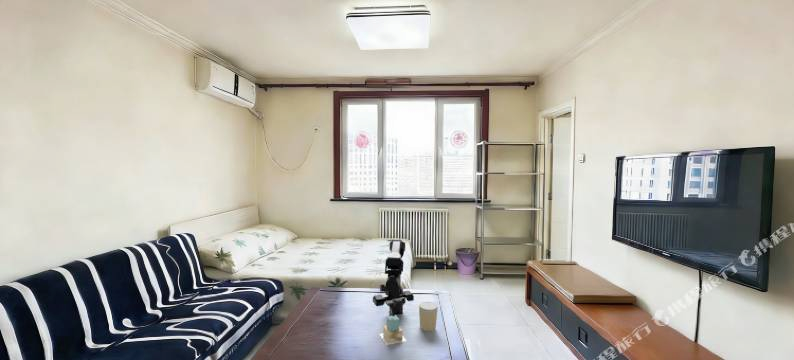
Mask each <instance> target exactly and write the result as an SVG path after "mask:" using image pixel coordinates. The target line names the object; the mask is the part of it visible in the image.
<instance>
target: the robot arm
mask: <svg viewBox="0 0 794 360" xmlns="http://www.w3.org/2000/svg"><path fill="white" fill-rule="evenodd" d="M388 247H389V251H390V253H389V254H388V255H387V258H385V263H384V265H385V267H384V274H385V275H387V278H386V280H385V284H380V285H379V291H380V292H381V293H382V292H383V293H384V294H385V296H382V294H376V295H373V296H372V303H373V304H374V306H376V307H381V306H382V307H383V306H384V305H385V304H386V305H387V307H389V311H388V312H389V314H390V316H395V315H396V316H398V315H404V310H403V309H404V305H405V304H406V303H407V302H413V301H414V300H415V296H414V294H413V293H412V292H411V291H410V290H404V288H403V287H402V284H401V278H402V273H403V272H404V265H405V264H404V260H403V259H402V258H403V256H404V254H405V252H406V242H404V241H402V239H394V238H393V239H391V241H390V242H389V246H388ZM406 301H407V302H406Z"/></svg>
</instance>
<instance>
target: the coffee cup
mask: <svg viewBox="0 0 794 360" xmlns="http://www.w3.org/2000/svg"><path fill="white" fill-rule="evenodd" d="M438 308H439V307H438V305H437V304H436V303H435V302H432V301H423V302H420V303H419V306H418V309H419V312H418V314H419V328H420V329H421V330H422V331H424V332H425V331H426V332H431V333H435V331H436V328H437V327H436V326H437V319H438V317H437V316H438V315H437V314H438Z"/></svg>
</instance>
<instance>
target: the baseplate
mask: <svg viewBox="0 0 794 360" xmlns="http://www.w3.org/2000/svg"><path fill="white" fill-rule="evenodd" d="M379 336H380V337H381V339H382V341H383V342H384V344H385V346H389V345H396V344H399V343H400V344H401V343H404V342H407V339H406V338H405V336H403V339H402V340H400V341H395V342H390V343H388V342H387V340H386V338H385V337H384V335H383V332H382V333H379Z"/></svg>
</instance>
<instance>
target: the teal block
mask: <svg viewBox="0 0 794 360" xmlns="http://www.w3.org/2000/svg"><path fill="white" fill-rule="evenodd" d="M386 325H387V328H388V329H389V331H395V330H399V326H400V318H399V317H398V315H395V316H392V315H387V316H386Z"/></svg>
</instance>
